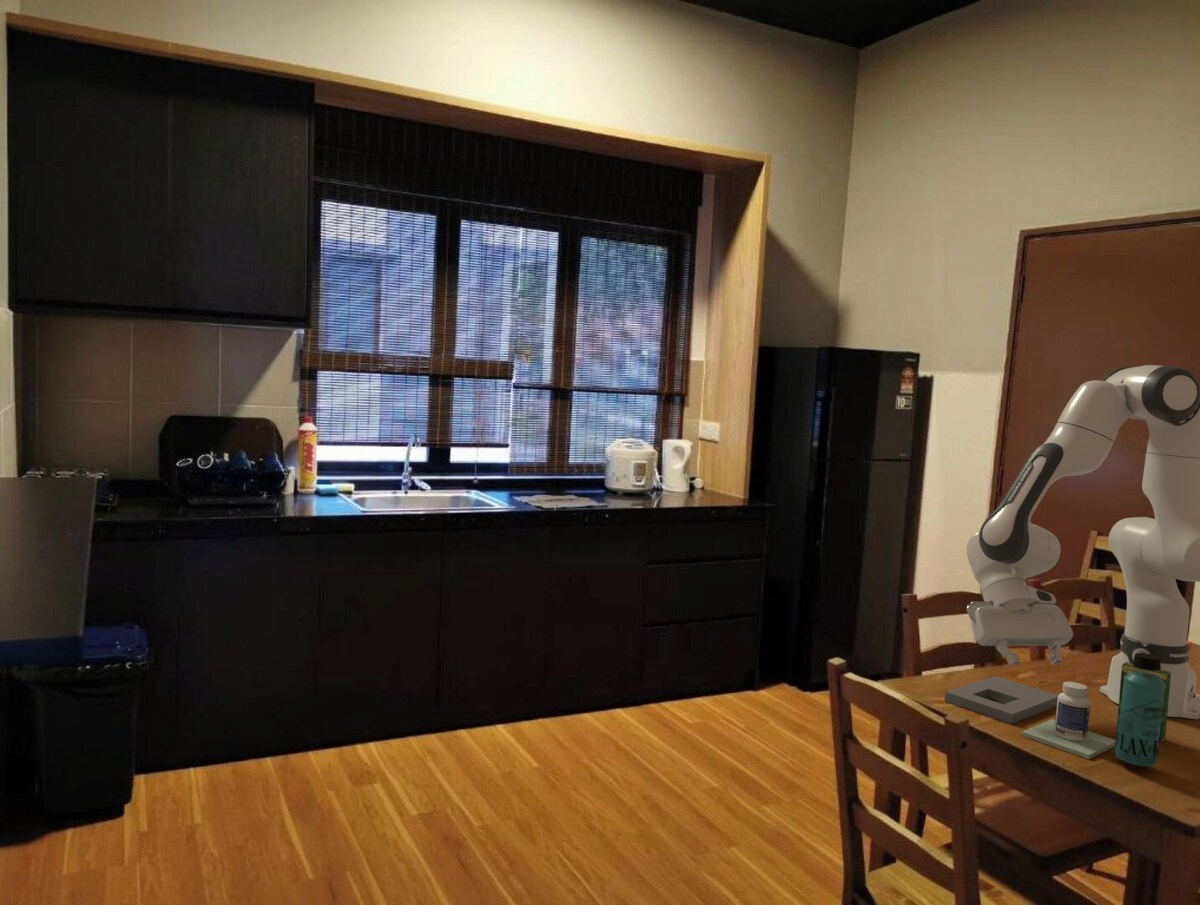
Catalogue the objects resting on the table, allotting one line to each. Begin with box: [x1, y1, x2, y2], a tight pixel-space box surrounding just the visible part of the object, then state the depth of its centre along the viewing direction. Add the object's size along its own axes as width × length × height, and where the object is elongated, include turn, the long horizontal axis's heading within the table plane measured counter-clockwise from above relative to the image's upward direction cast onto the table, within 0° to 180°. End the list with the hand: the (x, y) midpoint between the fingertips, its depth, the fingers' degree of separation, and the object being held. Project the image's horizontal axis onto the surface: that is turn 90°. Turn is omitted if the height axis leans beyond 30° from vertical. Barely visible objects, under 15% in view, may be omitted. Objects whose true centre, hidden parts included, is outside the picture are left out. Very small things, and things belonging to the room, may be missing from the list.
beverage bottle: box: [1114, 653, 1166, 767], centre depth 154 cm, size 6×7×20 cm
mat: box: [1021, 719, 1116, 760], centre depth 166 cm, size 12×12×1 cm
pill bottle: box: [1054, 681, 1091, 741], centre depth 165 cm, size 5×5×10 cm
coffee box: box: [1116, 662, 1171, 743], centre depth 170 cm, size 8×3×13 cm, turn 43°
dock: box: [944, 675, 1059, 725], centre depth 184 cm, size 20×14×2 cm
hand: (1036, 663), depth 176 cm, fingers open, 8 cm apart
